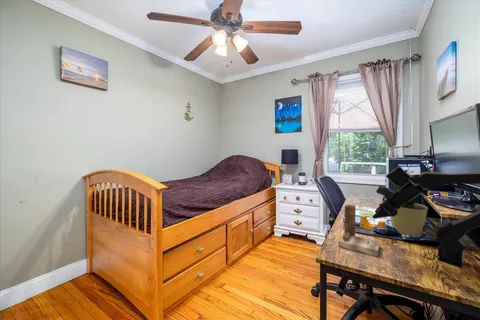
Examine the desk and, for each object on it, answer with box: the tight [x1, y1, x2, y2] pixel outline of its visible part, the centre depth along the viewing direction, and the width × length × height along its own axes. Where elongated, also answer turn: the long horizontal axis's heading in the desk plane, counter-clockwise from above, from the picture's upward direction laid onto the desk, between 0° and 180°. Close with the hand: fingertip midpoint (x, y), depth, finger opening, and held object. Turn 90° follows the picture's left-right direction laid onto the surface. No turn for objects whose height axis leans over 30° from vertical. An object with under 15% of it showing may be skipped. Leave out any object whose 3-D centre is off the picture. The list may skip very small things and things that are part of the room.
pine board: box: [337, 232, 381, 257], centre depth 94 cm, size 15×10×3 cm, turn 51°
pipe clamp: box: [359, 214, 386, 232], centre depth 112 cm, size 12×4×6 cm, turn 23°
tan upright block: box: [343, 203, 356, 240], centre depth 99 cm, size 4×12×16 cm, turn 141°
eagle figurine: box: [423, 225, 438, 240], centre depth 97 cm, size 8×7×9 cm
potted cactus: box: [390, 179, 429, 236], centre depth 105 cm, size 15×15×30 cm
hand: (374, 214), depth 96 cm, fingers open, 9 cm apart
